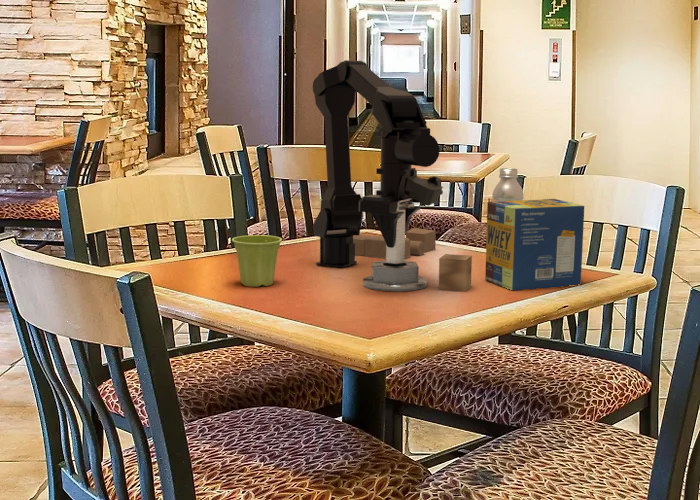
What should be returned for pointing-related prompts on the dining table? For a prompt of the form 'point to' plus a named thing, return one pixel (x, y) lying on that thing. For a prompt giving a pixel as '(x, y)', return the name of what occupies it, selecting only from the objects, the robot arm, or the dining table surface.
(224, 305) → the dining table surface
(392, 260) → the tan elongated piece
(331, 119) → the robot arm
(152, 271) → the dining table surface
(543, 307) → the dining table surface
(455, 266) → the brown wooden block
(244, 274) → the plant pot
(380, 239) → the wooden block set
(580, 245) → the protein box
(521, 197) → the plastic bottle
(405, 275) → the socket
